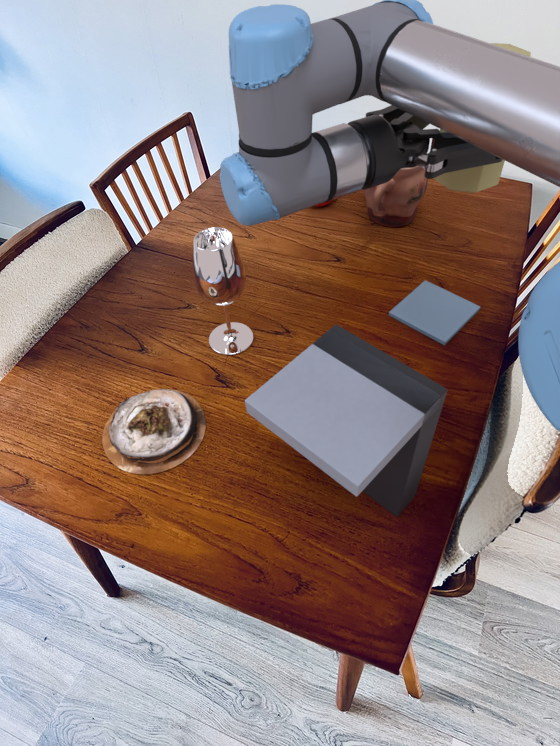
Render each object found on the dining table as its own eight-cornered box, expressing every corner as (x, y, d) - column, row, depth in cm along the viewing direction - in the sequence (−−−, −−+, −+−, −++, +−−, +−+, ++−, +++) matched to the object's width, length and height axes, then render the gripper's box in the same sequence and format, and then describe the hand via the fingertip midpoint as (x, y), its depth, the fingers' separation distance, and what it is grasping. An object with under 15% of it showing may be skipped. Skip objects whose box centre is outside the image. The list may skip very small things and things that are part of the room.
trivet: (479, 310, 88) (480, 306, 88) (444, 345, 84) (445, 342, 83) (424, 283, 94) (425, 279, 93) (388, 315, 89) (388, 312, 88)
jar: (480, 205, 66) (514, 77, 54) (416, 183, 70) (435, 60, 59) (511, 174, 70) (549, 50, 59) (450, 156, 74) (474, 36, 63)
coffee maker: (415, 495, 67) (447, 389, 50) (346, 577, 61) (358, 486, 44) (331, 435, 74) (335, 323, 57) (262, 503, 67) (244, 400, 51)
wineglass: (263, 336, 87) (252, 234, 72) (231, 363, 84) (212, 263, 68) (230, 316, 91) (213, 216, 76) (198, 342, 87) (173, 242, 72)
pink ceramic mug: (405, 254, 99) (416, 187, 89) (345, 240, 103) (348, 175, 93) (431, 200, 111) (443, 135, 100) (376, 190, 115) (382, 126, 104)
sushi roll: (208, 387, 81) (204, 369, 77) (201, 472, 71) (196, 456, 68) (114, 392, 81) (106, 375, 78) (94, 477, 71) (84, 462, 68)
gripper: (309, 151, 69) (448, 110, 74) (403, 232, 56) (562, 174, 62) (308, 91, 63) (459, 51, 69) (413, 166, 50) (587, 109, 56)
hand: (507, 109), depth 65 cm, fingers closed on jar, 8 cm apart
